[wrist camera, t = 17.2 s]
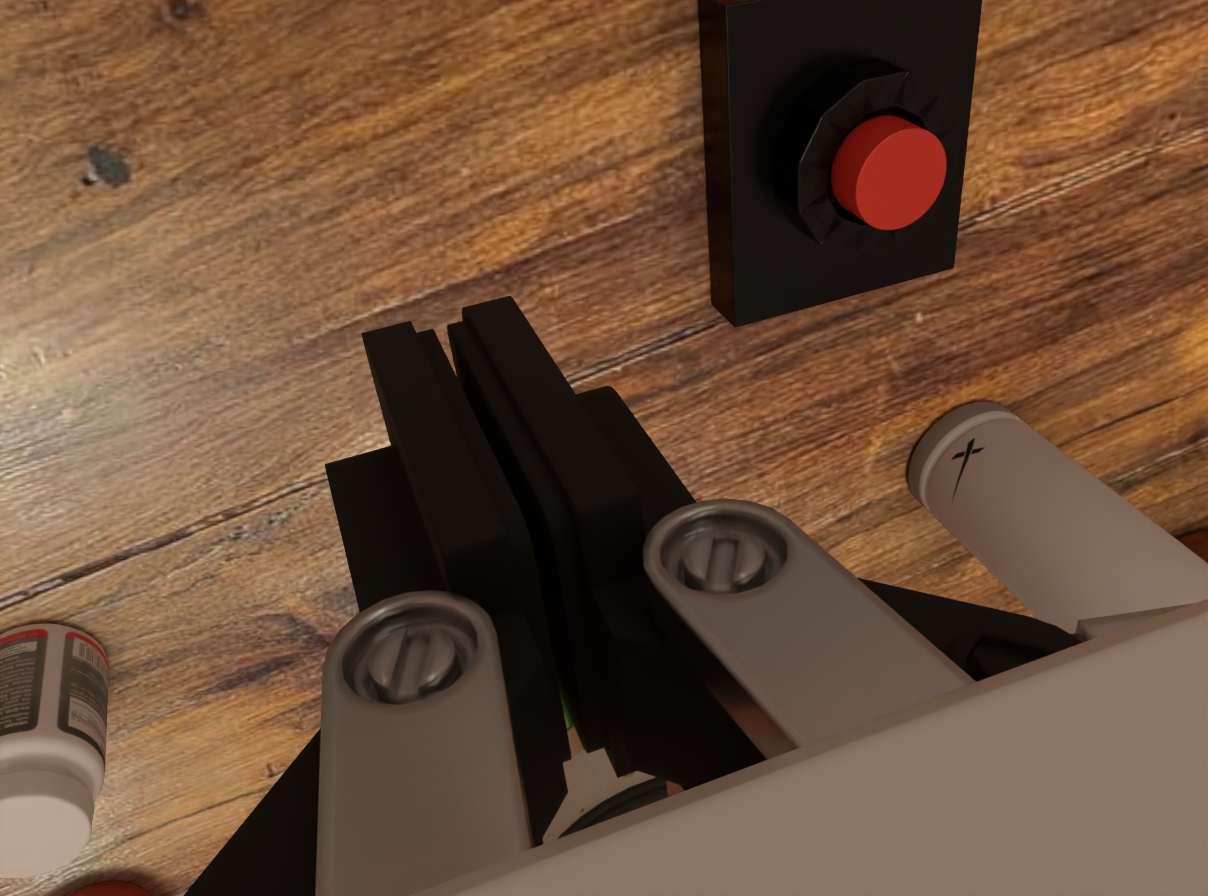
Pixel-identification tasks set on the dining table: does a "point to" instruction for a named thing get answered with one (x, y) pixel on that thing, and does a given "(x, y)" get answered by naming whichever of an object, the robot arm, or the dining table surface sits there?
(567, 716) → the coffee cup
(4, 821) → the pill bottle
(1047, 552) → the travel mug
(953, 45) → the switch block
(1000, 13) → the dining table surface
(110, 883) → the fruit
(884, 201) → the button
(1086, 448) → the dining table surface
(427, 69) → the dining table surface
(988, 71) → the dining table surface
